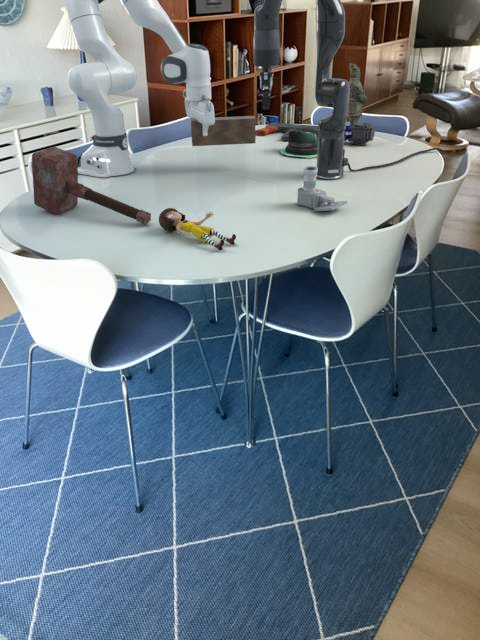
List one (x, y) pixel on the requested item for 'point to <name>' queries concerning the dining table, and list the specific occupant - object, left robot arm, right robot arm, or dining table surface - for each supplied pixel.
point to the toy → (359, 133)
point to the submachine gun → (282, 129)
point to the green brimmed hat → (302, 143)
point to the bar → (225, 131)
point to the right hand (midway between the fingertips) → (266, 107)
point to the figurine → (191, 227)
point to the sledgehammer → (69, 186)
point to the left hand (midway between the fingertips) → (201, 133)
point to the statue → (355, 96)
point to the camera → (315, 193)
